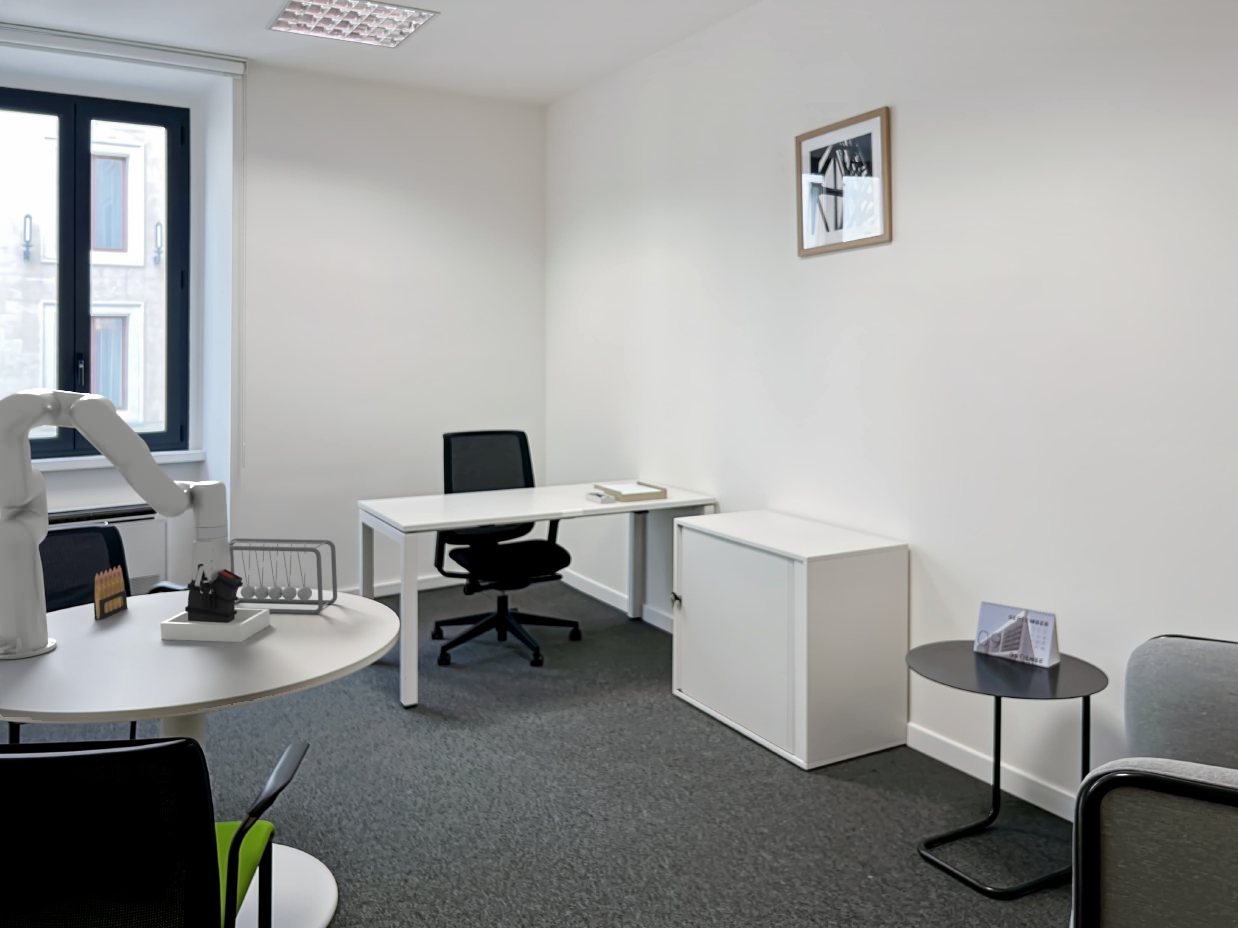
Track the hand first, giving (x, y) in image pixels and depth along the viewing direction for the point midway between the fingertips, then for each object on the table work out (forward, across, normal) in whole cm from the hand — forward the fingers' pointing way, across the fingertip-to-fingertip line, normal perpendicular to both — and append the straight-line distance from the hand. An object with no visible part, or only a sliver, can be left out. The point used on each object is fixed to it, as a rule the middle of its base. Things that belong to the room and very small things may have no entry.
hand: (214, 605), depth 221 cm
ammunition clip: (+7, -12, -36) cm, 38 cm away
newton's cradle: (+7, -22, +4) cm, 23 cm away
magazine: (+4, 0, 0) cm, 4 cm away
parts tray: (+7, 0, 0) cm, 7 cm away
